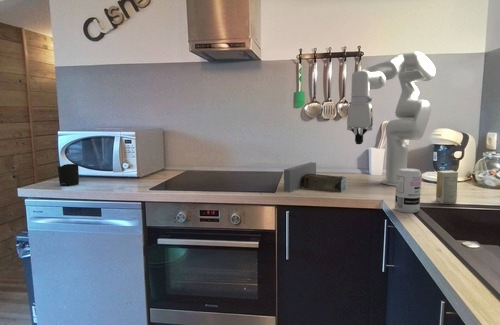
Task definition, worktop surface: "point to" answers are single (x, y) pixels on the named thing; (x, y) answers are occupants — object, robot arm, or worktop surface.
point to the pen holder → (68, 174)
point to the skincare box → (446, 186)
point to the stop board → (297, 176)
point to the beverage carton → (324, 182)
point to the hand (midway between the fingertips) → (358, 144)
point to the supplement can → (408, 190)
